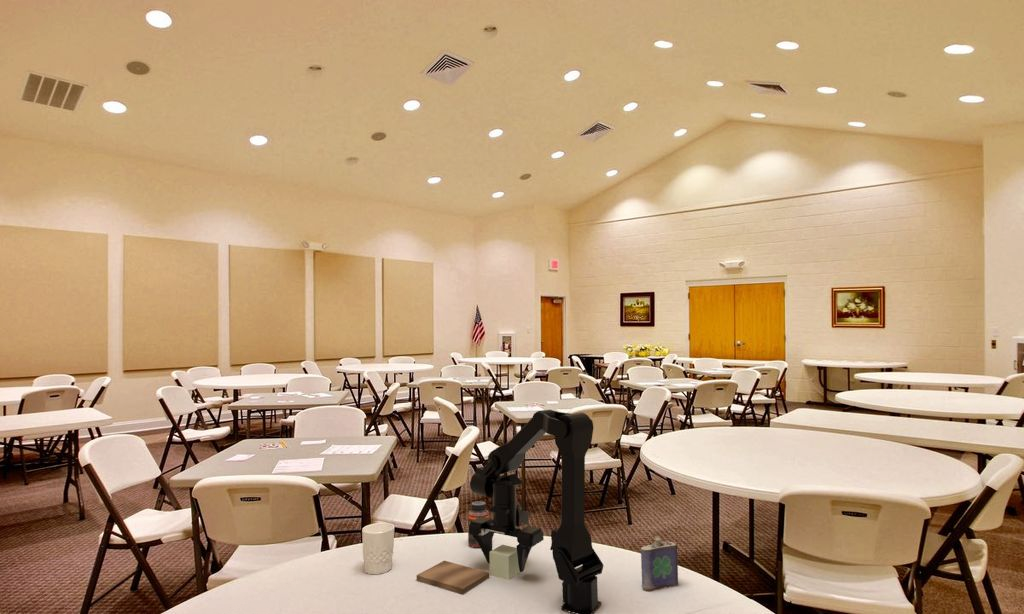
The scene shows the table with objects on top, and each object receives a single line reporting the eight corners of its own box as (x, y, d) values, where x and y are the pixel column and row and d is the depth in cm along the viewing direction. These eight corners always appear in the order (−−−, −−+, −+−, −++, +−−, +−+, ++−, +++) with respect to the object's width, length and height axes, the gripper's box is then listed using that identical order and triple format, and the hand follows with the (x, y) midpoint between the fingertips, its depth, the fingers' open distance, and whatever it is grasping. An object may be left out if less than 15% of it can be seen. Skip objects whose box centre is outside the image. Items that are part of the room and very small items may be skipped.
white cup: (359, 566, 131) (359, 525, 131) (390, 560, 134) (390, 520, 135) (364, 578, 123) (364, 535, 124) (397, 571, 127) (397, 529, 128)
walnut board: (489, 577, 122) (489, 572, 122) (463, 594, 114) (463, 588, 114) (444, 565, 130) (444, 560, 130) (416, 580, 122) (416, 575, 122)
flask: (646, 592, 113) (644, 542, 114) (638, 586, 116) (636, 537, 117) (681, 585, 116) (679, 536, 117) (673, 580, 119) (671, 532, 120)
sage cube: (521, 572, 125) (520, 548, 126) (508, 580, 121) (508, 556, 121) (502, 567, 128) (502, 544, 129) (489, 575, 124) (489, 551, 124)
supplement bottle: (486, 549, 140) (486, 506, 141) (465, 547, 142) (465, 505, 143) (491, 541, 146) (491, 500, 147) (471, 540, 147) (471, 499, 148)
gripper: (553, 498, 128) (555, 563, 126) (492, 488, 138) (493, 549, 136) (530, 510, 118) (532, 581, 117) (466, 499, 129) (467, 564, 127)
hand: (505, 567), depth 125 cm, fingers open, 9 cm apart
